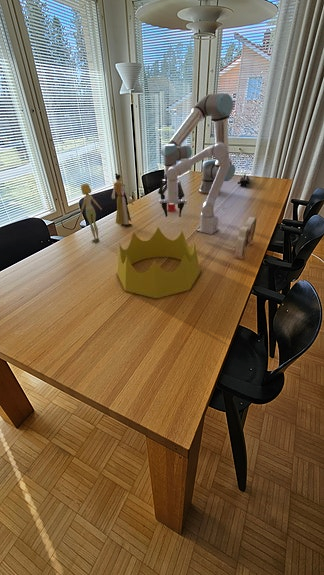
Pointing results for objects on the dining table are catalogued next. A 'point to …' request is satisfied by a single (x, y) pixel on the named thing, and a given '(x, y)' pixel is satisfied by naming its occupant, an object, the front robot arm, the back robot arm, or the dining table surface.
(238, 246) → the cutout
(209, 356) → the dining table surface
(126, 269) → the crown
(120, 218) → the figurine
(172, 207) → the cylinder
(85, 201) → the sculpture
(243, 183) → the toy
